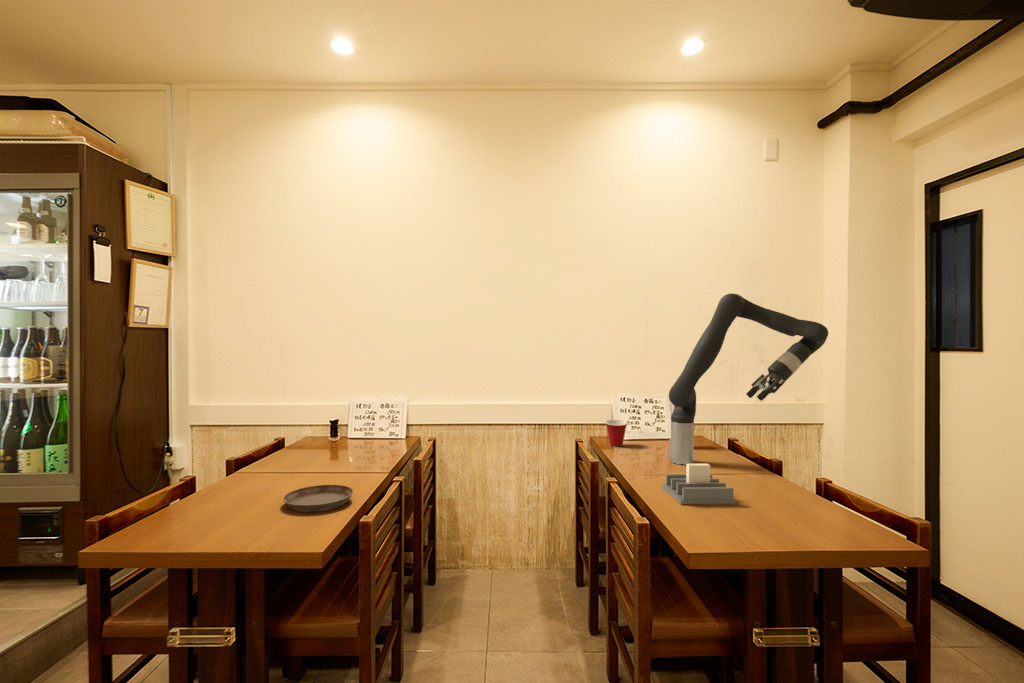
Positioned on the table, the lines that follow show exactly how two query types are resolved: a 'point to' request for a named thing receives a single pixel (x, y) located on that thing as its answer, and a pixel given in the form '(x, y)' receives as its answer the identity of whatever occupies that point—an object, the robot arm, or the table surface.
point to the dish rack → (698, 491)
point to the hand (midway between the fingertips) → (753, 397)
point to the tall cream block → (697, 473)
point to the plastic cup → (616, 431)
